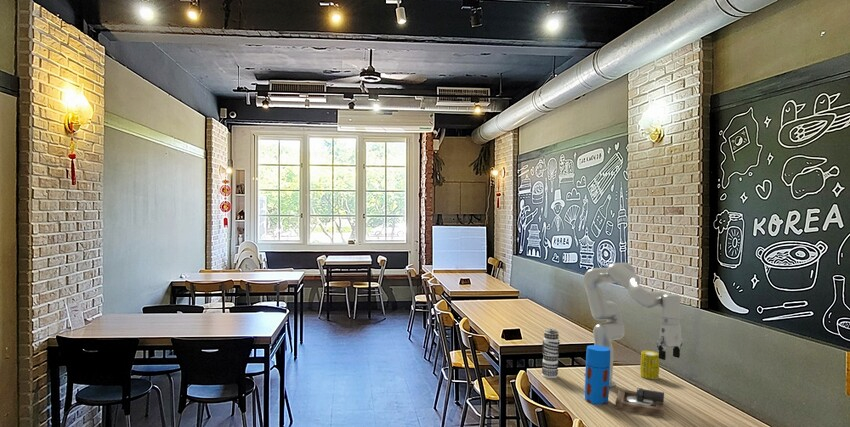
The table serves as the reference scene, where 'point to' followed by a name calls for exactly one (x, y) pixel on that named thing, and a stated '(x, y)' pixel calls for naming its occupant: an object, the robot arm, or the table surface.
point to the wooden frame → (637, 405)
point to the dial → (646, 397)
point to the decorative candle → (550, 353)
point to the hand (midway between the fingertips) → (669, 358)
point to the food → (649, 364)
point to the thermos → (597, 374)
